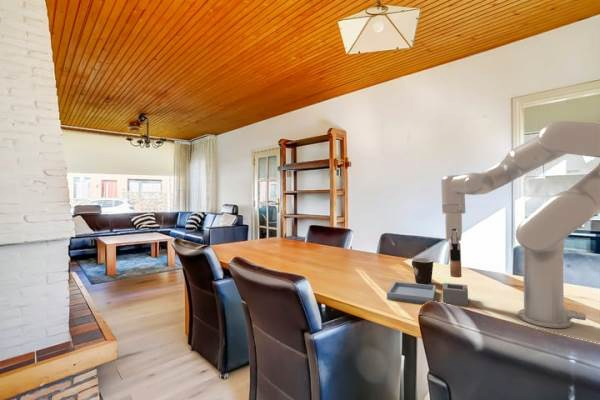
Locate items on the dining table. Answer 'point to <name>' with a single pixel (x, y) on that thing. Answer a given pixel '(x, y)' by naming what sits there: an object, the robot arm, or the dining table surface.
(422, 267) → the coffee mug
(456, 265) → the dowel
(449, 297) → the socket block
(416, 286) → the tray
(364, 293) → the dining table surface
